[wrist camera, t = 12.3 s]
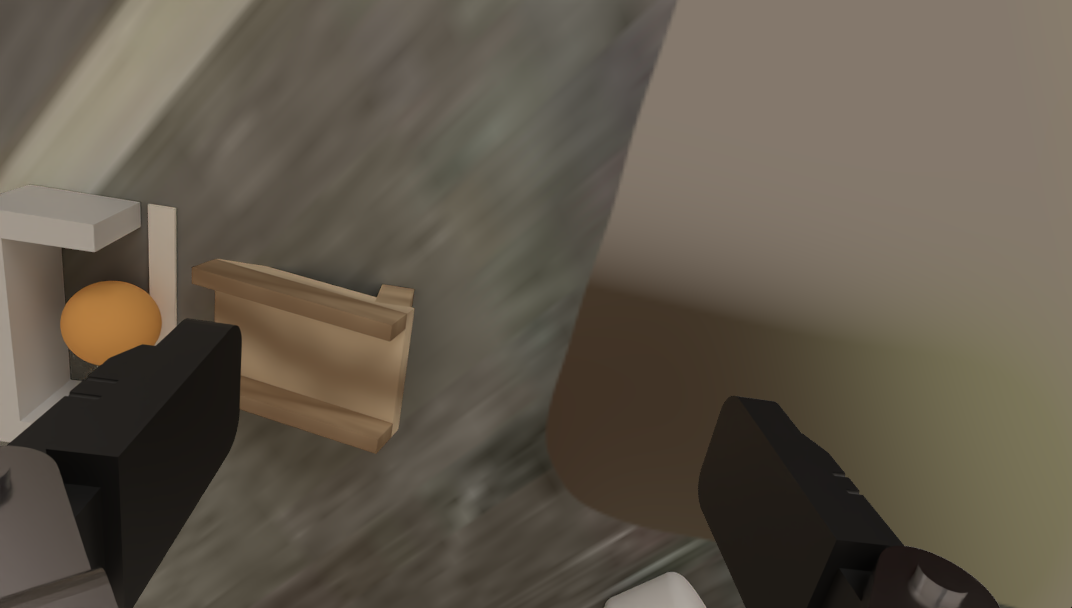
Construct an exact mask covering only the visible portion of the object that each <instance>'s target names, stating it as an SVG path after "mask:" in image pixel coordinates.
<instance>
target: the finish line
mask: <svg viewBox="0 0 1072 608" xmlns="http://www.w3.org/2000/svg"><path fill="white" fill-rule="evenodd" d="M148 238H149V288H150V296H151V297H152V298H153V300H154V301H155V302H156V304H157V306H158V308H159V310H160V313H161V319H162V328H161V332H160V336H159V338H158V340H157V342H156V344H155V345H154V346H156V345H157V344H158V343H159V342H160V341H161V340H162V339H164V338H165V337H166V336H167V335H168V334H169V333H170V332H171V331H172V330H173V329H174V328H175V327H176V326H177V217H176V208H174V207H168V206H161V205H155V204H148Z"/></svg>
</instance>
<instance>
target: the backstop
mask: <svg viewBox="0 0 1072 608" xmlns="http://www.w3.org/2000/svg"><path fill="white" fill-rule="evenodd" d="M140 227H141V207H140V202H136V201H130V200H124V199H118V198H111V197H105V196H99V195H93V194H87V193H80V192H74V191H68V190H62V189H55V188H49V187H43V186H37V185H30V184H29V185H25V186H22V187H19V188H16V189H13V190H10V191H7V192H4V193H1V194H0V441H5V442H11V441H12V440H14V439H15V438H16V437H17V436H18V435H19V434H21V433H22V432H23V431H24V430H25V429H27V428H28V427H29V426H30V425H31V424H32V423H34V422H35V421H36V420H37V419H38V418H39V417H41V416H42V415H43V414H44V413H45V412H46V411H48V410H49V409H50V408H51V407H52V406H53V405H55V404H56V403H57V402H58V401H59V400H61V399H62V398H63V397H64V396H69V393H70V391H71V390H72V389H73V388H75V387H76V386H77V385H78V384H79V383H80V382H82V381H78V380H71V378H70V364H69V349H68V346H67V345H66V343H65V342H64V340H63V337H62V334H61V329H60V320H61V314H62V311H63V309H64V307H65V292H64V277H63V263H62V248H61V247H63V248H70V249H76V250H83V251H90V252H96V251H98V250H100V249H102V248H103V247H105V246H107V245H109V244H111V243H113V242H114V241H116V240H118V239H120V238H122V237H123V236H125V235H127V234H129V233H131V232H132V231H134V230H136V229H138V228H140Z"/></svg>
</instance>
